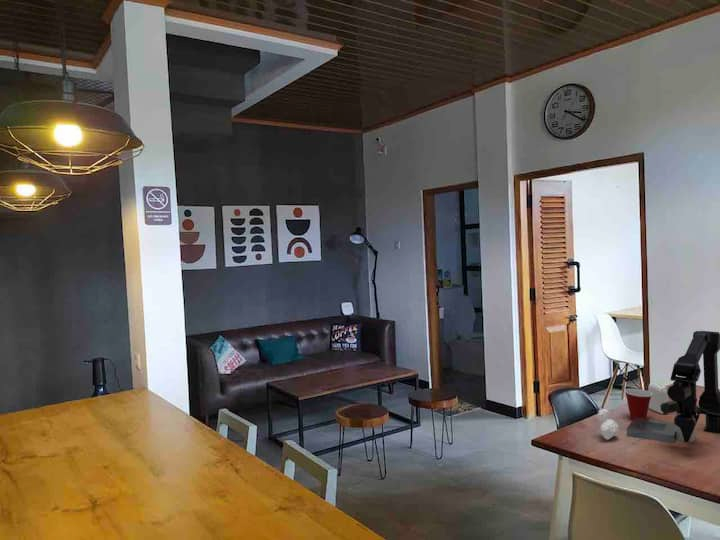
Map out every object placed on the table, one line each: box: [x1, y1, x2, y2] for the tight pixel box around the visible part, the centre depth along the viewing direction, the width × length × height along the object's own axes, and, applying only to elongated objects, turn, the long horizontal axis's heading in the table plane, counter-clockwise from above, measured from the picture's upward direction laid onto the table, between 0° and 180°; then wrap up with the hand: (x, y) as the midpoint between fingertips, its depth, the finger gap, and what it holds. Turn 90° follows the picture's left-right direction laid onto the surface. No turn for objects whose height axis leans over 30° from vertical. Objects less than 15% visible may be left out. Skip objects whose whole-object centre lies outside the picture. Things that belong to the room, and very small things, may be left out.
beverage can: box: [674, 412, 696, 443], centre depth 207 cm, size 6×6×12 cm
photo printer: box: [647, 382, 670, 415], centre depth 241 cm, size 10×4×12 cm, turn 4°
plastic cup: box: [624, 388, 653, 421], centre depth 232 cm, size 11×11×12 cm
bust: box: [596, 408, 620, 440], centre depth 211 cm, size 12×8×11 cm, turn 145°
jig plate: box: [626, 417, 676, 444], centre depth 214 cm, size 16×16×3 cm
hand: (687, 438), depth 197 cm, fingers open, 8 cm apart
